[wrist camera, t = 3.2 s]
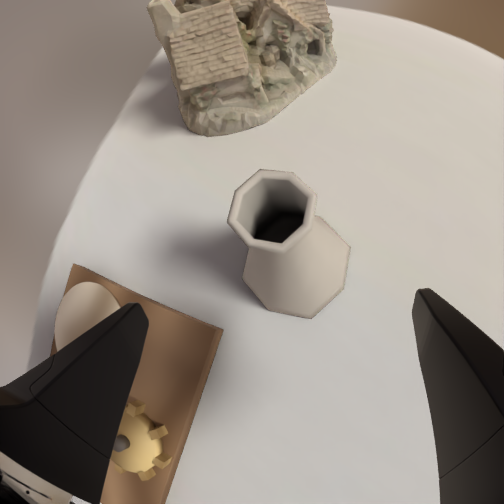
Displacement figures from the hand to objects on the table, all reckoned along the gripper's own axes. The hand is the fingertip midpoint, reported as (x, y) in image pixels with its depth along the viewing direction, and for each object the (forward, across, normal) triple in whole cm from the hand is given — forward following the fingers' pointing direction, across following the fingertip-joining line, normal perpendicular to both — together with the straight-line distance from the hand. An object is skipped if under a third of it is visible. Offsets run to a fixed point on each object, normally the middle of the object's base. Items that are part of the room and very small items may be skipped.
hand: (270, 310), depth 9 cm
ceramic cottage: (+24, +2, -8) cm, 26 cm away
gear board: (+2, +16, +14) cm, 21 cm away
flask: (+10, 0, +5) cm, 12 cm away
